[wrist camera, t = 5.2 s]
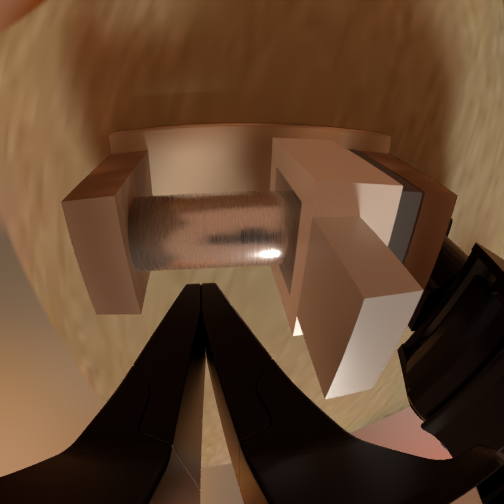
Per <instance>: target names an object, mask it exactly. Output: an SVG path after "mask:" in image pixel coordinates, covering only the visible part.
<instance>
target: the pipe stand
mask: <svg viewBox="0 0 504 504" xmlns="http://www.w3.org/2000/svg"><path fill="white" fill-rule="evenodd" d="M273 138H297V139H316V140H331V141H334V142H336V143H337V144H339V145H341V146H343V147H344V148H346V149H355V150H357V151H359V152H361V153H363V154H364V155H366V156H368V157H369V158H371V159H372V160H374V161H376V162H377V163H379V164H381V165H382V166H384V167H385V168H387V169H388V170H390V171H392V172H393V173H395V174H396V175H398V176H399V177H401V178H402V179H404V180H405V181H407V182H408V183H410V184H411V185H413V186H414V187H415V188H417V189H418V190H420V191H421V192H423V194H422V198H421V202H420V206H419V209H418V213H417V217H416V220H415V224H414V227H413V231H412V234H411V237H410V241H409V244H408V247H407V250H406V253H405V256H404V259H403V262H402V264H403V265H404V267H405V268H406V269H407V270H408V271H409V273H410V274H411V275H412V276H413V278H414V279H415V280H416V281H417V282H418V284H419V285H420V286H421V287H422V289H423V290H424V289H425V287H426V285H427V282H428V280H429V277H430V275H431V273H432V270H433V268H434V265H435V262H436V260H437V257H438V254H439V252H440V249H441V246H442V243H443V241H444V238H445V235H446V232H447V229H448V226H449V223H450V219H451V216H452V213H453V210H454V206H455V203H456V199H457V196H458V195H456V194H455V193H453V192H452V191H450V190H449V189H447V188H446V187H444V186H443V185H441V184H439V183H438V182H436V181H435V180H433V179H432V178H430V177H428V176H427V175H425V174H423V173H422V172H420V171H418V170H417V169H415V168H413V167H412V166H410V165H408V164H407V163H405V162H403V161H401V160H399V159H398V158H396V157H394V156H392V155H390V154H389V150H390V144H391V138H392V137H390V136H388V135H385V134H383V133H376V132H369V131H361V130H353V129H344V128H334V127H322V126H309V125H292V124H264V123H222V124H194V125H177V126H164V127H152V128H142V129H133V130H125V131H117V132H114V133H112V134H110V135H109V141H110V151H111V155H110V156H109V157H107V158H106V159H105V160H104V161H103V162H102V163H101V164H100V165H99V166H97V167H96V168H95V169H94V170H93V171H92V172H91V173H90V174H89V175H88V176H87V177H86V178H85V179H84V180H83V181H82V182H80V183H79V184H78V185H77V186H76V187H75V188H74V189H73V190H72V191H71V192H70V193H69V194H68V195H67V197H66V198H65V199H64V200H63V201H62V207H63V211H64V215H65V219H66V223H67V227H68V231H69V234H70V238H71V241H72V245H73V248H74V252H75V255H76V258H77V261H78V264H79V267H80V270H81V273H82V276H83V279H84V282H85V285H86V288H87V291H88V293H89V296H90V299H91V302H92V304H93V307H94V309H95V312H96V314H141V312H142V307H143V302H144V297H145V292H146V287H147V283H148V278H149V274H150V271H162V270H184V269H204V268H224V267H243V266H262V265H279V264H295V256H296V248H297V240H298V232H299V223H300V215H301V206H302V202H301V200H300V199H299V197H298V196H297V194H296V193H295V192H294V191H270V178H271V160H272V141H273Z"/></svg>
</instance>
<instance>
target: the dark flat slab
mask: <svg viewBox="0 0 504 504" xmlns="http://www.w3.org/2000/svg"><path fill="white" fill-rule="evenodd" d="M348 150H349V151H351V152H352V153H354V154H356V155H357V156H359V157H361V158H362V159H364V160H365V161H367V162H368V163H370V164H372V165H373V166H375V167H376V168H378V169H379V170H381V171H382V172H384V173H385V174H387V175H388V176H390V177H391V178H393V179H394V180H396V181H397V182H398V183H400V184H401V185H403V189H402V193H401V198H400V202H399V206H398V210H397V214H396V218H395V222H394V226H393V230H392V233H391V237H390V241H389V244H388V248H389V249H390V250H391V251H392V253H393V254H394V255H395V256H396V257H397V258H398V260H399V261H400V262H401V263H402V262H403V259H404V256H405V253H406V250H407V247H408V244H409V241H410V237H411V234H412V231H413V227H414V224H415V220H416V217H417V213H418V209H419V206H420V202H421V198H422V194H423V192H421V191H420V190H418V189H417V188H415V187H414V186H413V185H411V184H410V183H408V182H407V181H405V180H404V179H402V178H401V177H399V176H398V175H396V174H395V173H393V172H392V171H390V170H388V169H387V168H385V167H384V166H382V165H381V164H379V163H377V162H376V161H374V160H372V159H371V158H369V157H368V156H366V155H364V154H363V153H361V152H359V151H357V150H355V149H348Z"/></svg>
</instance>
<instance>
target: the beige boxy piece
mask: <svg viewBox="0 0 504 504" xmlns="http://www.w3.org/2000/svg"><path fill="white" fill-rule="evenodd" d="M402 189H403V185H401V184H400V183H398V182H397V181H396V180H394V179H393V178H391V177H390V176H388V175H387V174H385V173H384V172H382V171H381V170H379V169H378V168H376V167H375V166H373V165H372V164H370V163H368V162H367V161H365V160H364V159H362V158H361V157H359V156H357V155H356V154H354V153H352V152H351V151H349V150H348V149H346V148H344V147H343V146H341V145H339V144H337V143H336V142H334V141H331V140H316V139H297V138H273V141H272V160H271V178H270V191H294V192H295V193H296V194H297V196H298V197H299V199H300V200H301V202H302V206H301V215H300V223H299V232H298V240H297V248H296V256H295V264H279V265H271V268H272V271H273V274H274V277H275V280H276V283H277V286H278V289H279V293H280V296H281V299H282V302H283V305H284V308H285V312H286V315H287V318H288V321H289V324H290V327H291V331H292V334H293V336H296V335H303V336H304V339H305V342H306V344H307V347H308V350H309V353H310V356H311V359H312V362H313V365H314V368H315V371H316V374H317V377H318V380H319V383H320V386H321V389H322V392H323V395H324V398H325V399H329V398H334V397H339V396H343V395H348V394H352V393H357V392H361V391H365V390H369V389H372V388H373V387H374V385H375V383H376V382H377V380H378V378H379V377H380V375H381V373H382V372H383V370H384V368H385V366H386V365H387V363H388V361H389V359H390V358H391V356H392V354H393V352H394V350H395V348H396V347H397V345H398V343H399V341H400V339H401V337H402V335H403V333H404V331H405V329H406V327H407V325H408V323H409V321H410V319H411V317H412V315H413V313H414V311H415V308H416V306H417V304H418V302H419V300H420V297H421V295H422V293H423V291H424V290H423V289H422V287H421V286H420V285H419V284H418V282H417V281H416V280H415V279H414V278H413V276H412V275H411V274H410V273H409V271H408V270H407V269H406V268H405V267H404V265H403V264H402V263H401V262H400V261H399V260H398V258H397V257H396V256H395V255H394V254H393V253H392V251H391V250H390V249H389V248H388V244H389V241H390V237H391V233H392V230H393V226H394V222H395V218H396V214H397V210H398V206H399V202H400V198H401V193H402Z"/></svg>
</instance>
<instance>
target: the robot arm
mask: <svg viewBox="0 0 504 504" xmlns="http://www.w3.org/2000/svg"><path fill="white" fill-rule="evenodd" d="M451 225H452V218H451V219H450V223H449V226H448V229H447V232H446V235H445V238H444V241H443V243H442V246H441V249H440V252H439V254H438V257H437V260H436V262H435V265H434V268H433V270H432V273H431V275H430V277H429V280H428V282H427V285H426V287H425V289H424V291H423V293H422V295H421V297H420V300H419V302H418V304H417V306H416V308H415V311H414V313H413V315H412V317H411V319H410V321H409V323H408V326H409V328H410V329H411V331H415V332H414V333H413V334H412V335H411V336H410V338H409V339H408V340H407V341H406V342H405V343H404V344H402V345H401V346H400V347H399V348H398V355H399V359H400V364H401V368H402V373H403V377H404V382H405V387H406V392H407V397H408V400H409V403H410V406H411V408H412V409H413V411H414V412H415V413H416V414H417V416H418V417H419V418H420V419H422V420H423V421H424V422H423V423H422V424H421V428H422V429H423V430H425V431H427V432H428V433H430V434H432V435H434V436H435V437H436V438H437V439H438V440H439V441H440V442H441V443H442V444H443V445H444V446H445V447H446V449H447V450H448V451H449V453H450V454H451V456H452V457H453V458H452V459H446V460H433V459H427V458H422V457H418V456H414V455H410V454H407V453H403V452H399V451H396V450H392V449H388V448H385V447H382V446H378V445H375V444H372V443H369V442H366V441H363V440H361V439H359V438H356V437H355V436H353V435H351V434H350V433H348V432H347V431H345V430H344V429H343V428H342V427H340V426H339V425H338V424H337V423H336V422H335V421H333V420H332V419H331V418H330V417H329V416H328V415H327V414H326V413H324V412H323V411H322V410H321V409H320V408H319V407H318V406H317V405H316V404H315V403H313V402H312V401H311V400H310V399H309V398H308V397H307V396H306V395H305V394H304V393H303V392H302V391H301V390H300V389H299V388H298V387H297V386H296V385H295V384H294V383H293V382H292V381H291V380H290V379H289V378H288V377H287V375H286V374H285V373H284V372H283V371H282V370H281V368H280V367H279V366H278V365H277V363H276V362H275V361H274V360H273V359H272V357H271V356H270V355H269V353H268V352H267V351H266V349H265V348H264V347H263V346H262V344H261V343H260V342H259V340H258V339H257V338H256V337H255V335H254V334H253V333H252V331H251V330H250V329H249V327H248V326H247V325H246V323H245V322H244V321H243V319H242V318H241V317H240V315H239V314H238V313H237V311H236V310H235V309H234V307H233V306H232V305H231V303H230V302H229V301H228V299H227V298H226V297H225V295H224V294H223V293H222V291H221V290H220V288H219V287H218V286H217V284H216V283H203V284H202V285H200V284H187V285H186V286H185V287H184V288H183V290H182V291H181V293H180V294H179V296H178V297H177V299H176V300H175V302H174V303H173V305H172V306H171V308H170V309H169V311H168V312H167V314H166V315H165V317H164V318H163V320H162V321H161V323H160V324H159V326H158V327H157V329H156V330H155V332H154V333H153V335H152V336H151V338H150V339H149V341H148V343H147V344H146V346H145V347H144V349H143V350H142V352H141V353H140V355H139V356H138V358H137V360H136V361H135V363H134V366H132V367H131V369H130V370H129V372H128V373H127V375H126V377H125V378H124V379H123V381H122V382H121V384H120V385H119V387H118V388H117V390H116V391H115V392H114V394H113V395H112V396H111V398H110V399H109V400H108V402H107V403H106V404H105V405H104V407H103V408H102V409H101V410H100V412H99V413H98V414H97V415H96V416H95V418H94V419H93V420H92V421H91V423H90V424H89V425H88V426H87V428H86V429H85V430H84V431H83V432H82V434H81V435H80V436H79V437H78V439H77V440H76V441H75V442H74V443H73V444H72V445H71V446H70V447H69V448H67V449H66V450H65V451H63V452H62V453H60V454H58V455H56V456H54V457H51V458H49V459H47V460H44V461H42V462H39V463H37V464H34V465H32V466H30V467H27V468H24V469H22V470H19V471H16V472H14V473H11V474H8V475H6V476H2V477H0V504H200V478H201V443H202V419H203V398H204V380H205V364H206V357H207V363H208V368H209V372H210V377H211V381H212V386H213V390H214V394H215V399H216V403H217V407H218V411H219V415H220V419H221V423H222V427H223V431H224V435H225V439H226V443H227V446H228V450H229V454H230V457H231V461H232V464H233V468H234V471H235V475H236V478H237V482H238V485H239V487H240V492H241V495H242V498H243V501H244V504H504V260H503V259H502V258H500V257H499V256H497V255H496V254H494V253H492V252H491V251H489V250H488V249H486V248H485V247H483V246H481V245H480V244H478V243H475V244H474V246H473V248H472V249H471V250H472V252H471V254H470V255H469V257H468V256H467V255H466V254H465V253H464V252H463V251H462V250H461V249H460V248H459V247H458V246H457V245H455V244H454V243H453V242H452V241H451V240H450V239H449V238H448V234H449V231H450V228H451ZM205 349H206V350H205Z"/></svg>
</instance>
